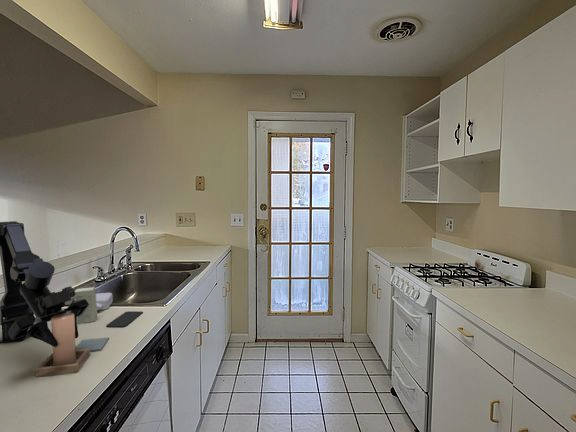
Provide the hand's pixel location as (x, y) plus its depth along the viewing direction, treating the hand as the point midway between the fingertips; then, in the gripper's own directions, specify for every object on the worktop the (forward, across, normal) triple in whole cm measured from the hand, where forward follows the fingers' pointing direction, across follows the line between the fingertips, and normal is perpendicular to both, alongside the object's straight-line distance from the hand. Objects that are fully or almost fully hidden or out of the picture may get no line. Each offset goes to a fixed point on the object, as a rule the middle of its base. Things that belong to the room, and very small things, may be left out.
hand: (67, 341), depth 87 cm
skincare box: (-13, +24, +23) cm, 36 cm away
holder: (+4, 0, +6) cm, 7 cm away
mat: (+1, +11, +9) cm, 14 cm away
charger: (-18, +34, +29) cm, 49 cm away
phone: (-4, +31, +15) cm, 34 cm away
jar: (+4, 0, +6) cm, 7 cm away
